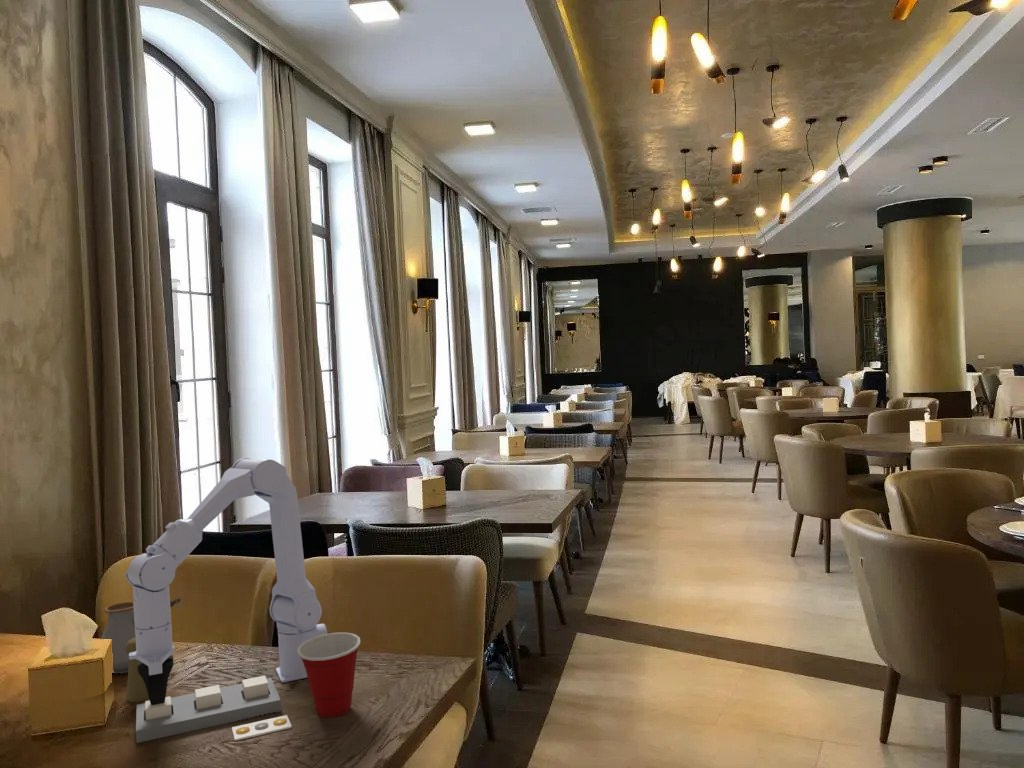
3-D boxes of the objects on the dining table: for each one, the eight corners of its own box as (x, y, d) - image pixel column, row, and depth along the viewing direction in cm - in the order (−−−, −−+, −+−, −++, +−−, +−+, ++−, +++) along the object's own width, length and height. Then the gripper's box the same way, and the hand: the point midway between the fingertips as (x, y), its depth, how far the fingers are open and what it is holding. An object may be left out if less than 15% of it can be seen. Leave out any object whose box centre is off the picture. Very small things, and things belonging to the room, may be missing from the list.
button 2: (265, 688, 146) (264, 675, 146) (268, 696, 142) (267, 682, 142) (243, 693, 144) (242, 680, 144) (245, 701, 140) (244, 687, 140)
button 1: (171, 710, 139) (170, 696, 139) (171, 718, 135) (171, 704, 135) (146, 715, 137) (145, 701, 137) (146, 724, 134) (145, 709, 134)
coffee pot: (81, 675, 162) (76, 602, 162) (125, 655, 173) (120, 587, 173) (165, 683, 156) (160, 607, 155) (205, 662, 166) (201, 590, 166)
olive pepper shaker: (147, 702, 146) (144, 643, 146) (118, 701, 148) (115, 642, 147) (168, 689, 152) (164, 632, 152) (140, 688, 153) (136, 632, 153)
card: (287, 716, 137) (286, 713, 137) (291, 727, 132) (291, 724, 132) (231, 729, 133) (231, 726, 133) (234, 741, 128) (234, 737, 128)
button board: (271, 687, 150) (271, 677, 150) (281, 711, 139) (280, 699, 139) (137, 716, 140) (136, 704, 140) (136, 743, 130) (135, 731, 129)
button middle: (219, 698, 142) (218, 684, 142) (221, 706, 139) (220, 692, 139) (195, 703, 141) (194, 689, 141) (196, 711, 137) (196, 697, 137)
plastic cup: (287, 721, 135) (283, 651, 135) (324, 695, 145) (320, 630, 145) (342, 728, 131) (338, 655, 131) (376, 701, 141) (372, 634, 141)
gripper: (128, 617, 141) (132, 693, 141) (126, 640, 128) (131, 724, 128) (171, 610, 144) (175, 685, 144) (173, 632, 131) (178, 714, 131)
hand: (157, 703), depth 136 cm, fingers closed, pressing on button 1
